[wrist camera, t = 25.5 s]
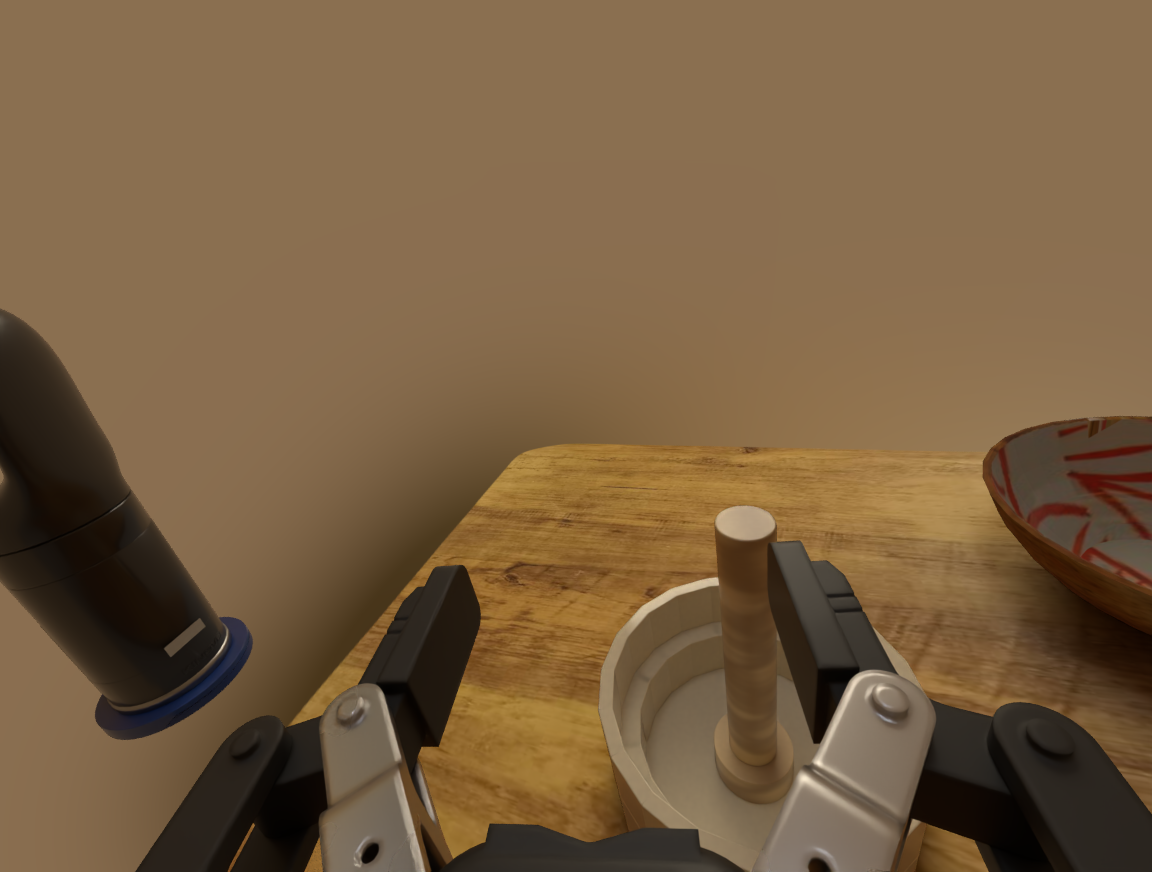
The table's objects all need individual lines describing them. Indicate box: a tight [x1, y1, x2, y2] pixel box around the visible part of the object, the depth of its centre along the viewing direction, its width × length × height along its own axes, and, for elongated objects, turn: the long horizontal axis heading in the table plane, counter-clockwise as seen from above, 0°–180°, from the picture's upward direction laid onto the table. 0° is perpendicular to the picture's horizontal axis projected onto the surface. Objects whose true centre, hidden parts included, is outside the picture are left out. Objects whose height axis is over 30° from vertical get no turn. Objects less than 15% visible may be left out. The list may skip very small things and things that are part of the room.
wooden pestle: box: [714, 506, 794, 804], centre depth 26 cm, size 4×4×18 cm
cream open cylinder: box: [598, 578, 927, 872], centre depth 28 cm, size 17×17×8 cm
